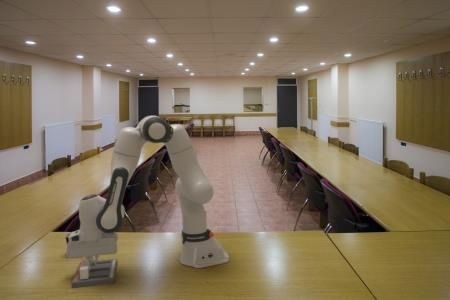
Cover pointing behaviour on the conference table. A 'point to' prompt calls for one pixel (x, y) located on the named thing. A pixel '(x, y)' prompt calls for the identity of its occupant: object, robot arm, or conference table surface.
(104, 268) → the panel
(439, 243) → the conference table surface
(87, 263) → the block
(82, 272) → the block
